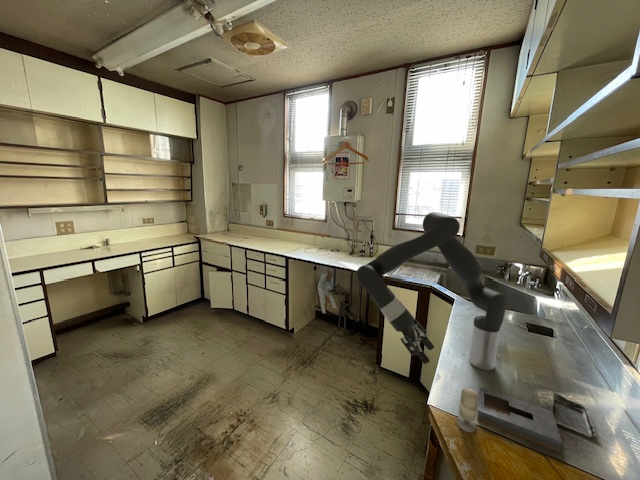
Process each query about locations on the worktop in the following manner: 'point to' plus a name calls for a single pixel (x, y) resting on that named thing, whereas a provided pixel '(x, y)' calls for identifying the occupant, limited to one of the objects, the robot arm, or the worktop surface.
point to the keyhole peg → (467, 410)
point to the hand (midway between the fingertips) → (429, 355)
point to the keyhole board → (519, 418)
